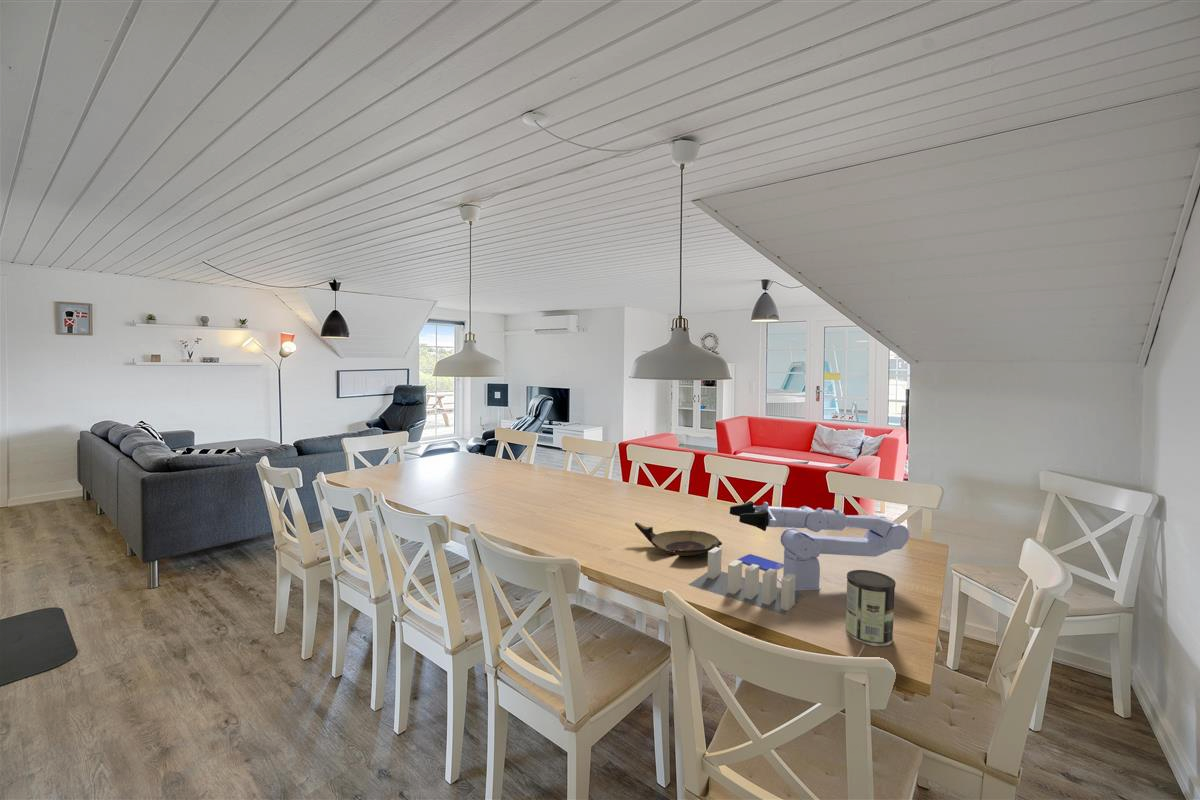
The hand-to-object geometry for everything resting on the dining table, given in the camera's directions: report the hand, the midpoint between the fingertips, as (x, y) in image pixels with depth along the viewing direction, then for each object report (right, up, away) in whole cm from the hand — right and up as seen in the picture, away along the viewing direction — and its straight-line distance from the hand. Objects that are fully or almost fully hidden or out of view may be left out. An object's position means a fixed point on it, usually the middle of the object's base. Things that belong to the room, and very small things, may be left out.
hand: (734, 514), depth 147 cm
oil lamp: (-11, -20, +32) cm, 39 cm away
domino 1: (-4, -21, +9) cm, 23 cm away
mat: (+3, -22, 0) cm, 22 cm away
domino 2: (0, -21, -1) cm, 21 cm away
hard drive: (+13, -21, +19) cm, 31 cm away
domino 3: (+4, -22, -4) cm, 22 cm away
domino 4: (+7, -22, -7) cm, 24 cm away
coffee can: (+26, -24, -24) cm, 42 cm away
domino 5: (+11, -22, -10) cm, 27 cm away
